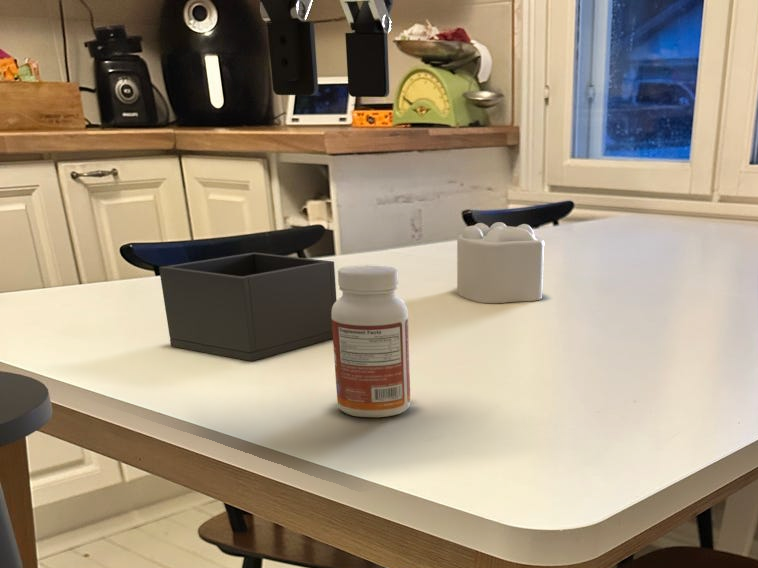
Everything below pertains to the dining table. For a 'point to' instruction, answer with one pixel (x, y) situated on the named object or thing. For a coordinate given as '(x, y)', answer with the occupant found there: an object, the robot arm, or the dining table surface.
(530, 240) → the lumpy-topped squat cylinder
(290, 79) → the robot arm
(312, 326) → the basket
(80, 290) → the dining table surface
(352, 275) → the pill bottle
